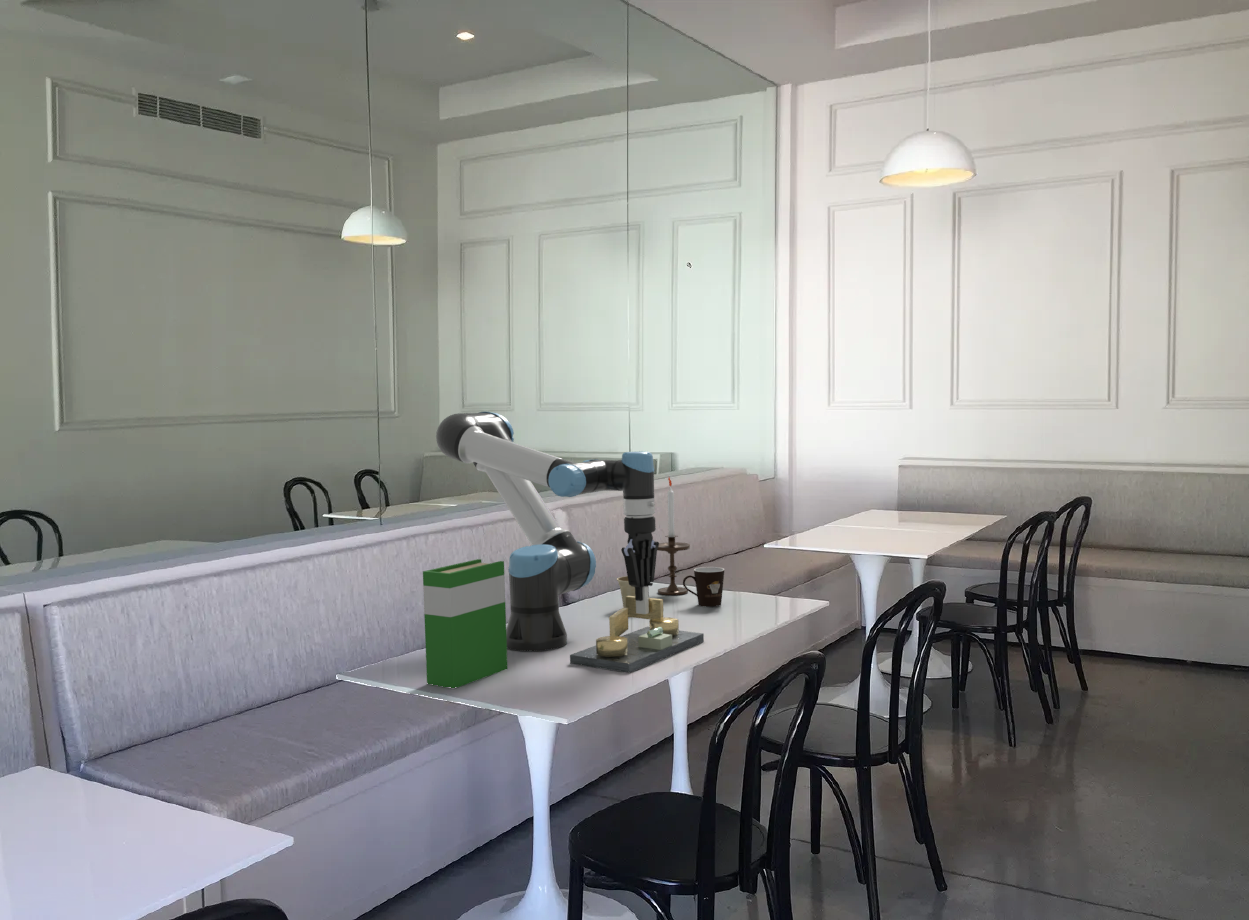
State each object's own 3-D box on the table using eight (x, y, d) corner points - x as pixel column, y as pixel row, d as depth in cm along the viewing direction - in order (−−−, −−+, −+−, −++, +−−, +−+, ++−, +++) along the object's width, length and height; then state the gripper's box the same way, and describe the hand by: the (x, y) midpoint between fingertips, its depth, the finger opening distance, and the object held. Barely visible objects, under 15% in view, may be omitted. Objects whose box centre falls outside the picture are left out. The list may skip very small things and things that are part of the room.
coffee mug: (725, 601, 301) (724, 566, 300) (725, 607, 292) (724, 572, 292) (684, 601, 302) (683, 567, 301) (683, 608, 293) (682, 572, 293)
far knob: (684, 631, 255) (683, 598, 254) (668, 637, 249) (668, 603, 248) (635, 625, 262) (635, 593, 262) (619, 631, 257) (619, 598, 256)
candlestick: (649, 591, 319) (646, 476, 317) (682, 588, 323) (679, 474, 321) (663, 597, 309) (660, 478, 307) (696, 594, 313) (694, 476, 311)
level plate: (629, 672, 227) (628, 645, 227) (570, 663, 236) (569, 637, 236) (703, 641, 253) (703, 617, 253) (647, 634, 262) (647, 610, 262)
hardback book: (481, 664, 237) (478, 559, 235) (507, 668, 233) (504, 561, 231) (427, 684, 222) (422, 571, 221) (453, 688, 218) (449, 573, 217)
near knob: (622, 657, 231) (621, 621, 231) (592, 655, 233) (591, 620, 233) (640, 642, 244) (639, 608, 244) (612, 641, 247) (611, 607, 246)
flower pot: (612, 607, 296) (611, 577, 296) (642, 604, 300) (641, 574, 300) (626, 613, 288) (625, 582, 287) (657, 609, 292) (656, 579, 291)
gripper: (637, 519, 245) (640, 619, 247) (667, 513, 256) (670, 609, 257) (610, 518, 250) (614, 616, 251) (641, 512, 260) (644, 606, 262)
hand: (642, 613), depth 254 cm, fingers closed
